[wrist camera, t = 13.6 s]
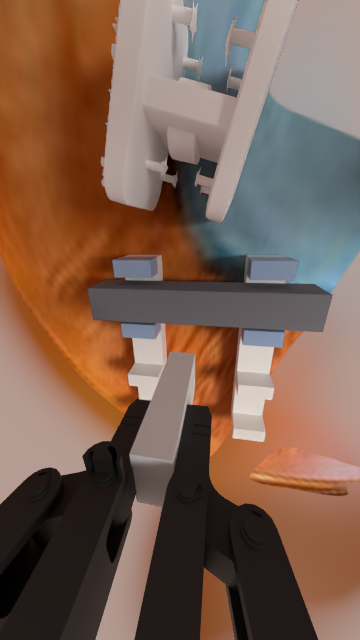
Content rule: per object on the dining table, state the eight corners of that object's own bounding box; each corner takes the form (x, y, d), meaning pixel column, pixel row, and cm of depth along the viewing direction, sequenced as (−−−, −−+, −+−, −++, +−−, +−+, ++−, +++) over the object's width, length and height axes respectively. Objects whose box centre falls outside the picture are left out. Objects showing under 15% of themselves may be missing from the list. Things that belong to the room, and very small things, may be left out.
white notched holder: (283, 254, 27) (298, 261, 22) (257, 413, 37) (263, 442, 32) (130, 254, 30) (112, 260, 25) (145, 400, 40) (134, 425, 35)
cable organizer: (220, 231, 27) (221, 234, 17) (140, 207, 28) (91, 195, 17) (274, 68, 21) (330, -95, 10) (169, 40, 21) (120, -144, 11)
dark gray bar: (314, 284, 25) (332, 295, 21) (307, 315, 27) (322, 331, 23) (105, 279, 29) (87, 288, 25) (109, 307, 31) (93, 319, 27)
